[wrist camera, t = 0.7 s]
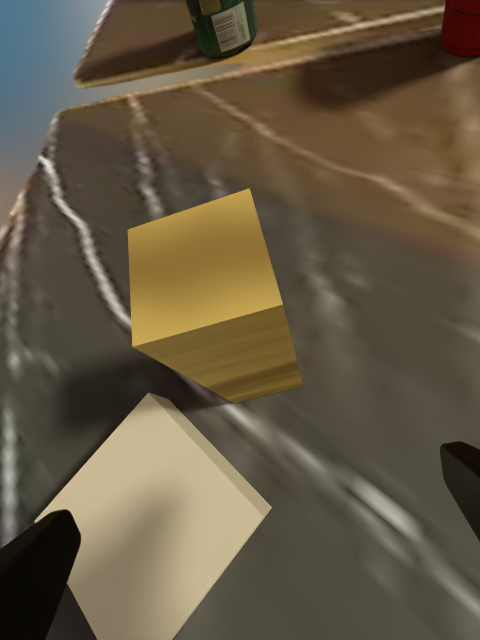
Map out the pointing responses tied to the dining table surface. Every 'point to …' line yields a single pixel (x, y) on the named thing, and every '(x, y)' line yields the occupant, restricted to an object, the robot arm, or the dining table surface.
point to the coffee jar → (223, 25)
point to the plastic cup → (461, 27)
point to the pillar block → (211, 300)
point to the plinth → (154, 523)
